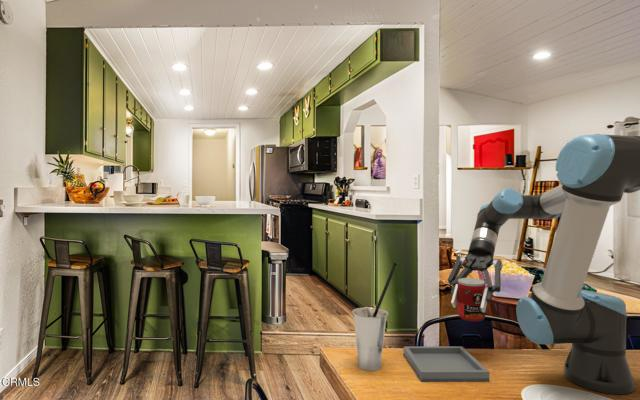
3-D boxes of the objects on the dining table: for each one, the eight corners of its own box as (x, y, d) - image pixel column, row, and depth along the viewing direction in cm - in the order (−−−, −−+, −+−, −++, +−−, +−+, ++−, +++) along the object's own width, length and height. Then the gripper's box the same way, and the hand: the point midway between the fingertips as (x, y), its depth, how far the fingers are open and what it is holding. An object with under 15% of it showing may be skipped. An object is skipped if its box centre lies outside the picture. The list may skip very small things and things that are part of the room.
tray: (461, 354, 122) (461, 346, 122) (489, 381, 104) (489, 371, 104) (403, 354, 121) (403, 346, 121) (421, 381, 103) (421, 372, 103)
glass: (395, 375, 107) (397, 263, 107) (353, 375, 107) (355, 263, 107) (388, 359, 118) (389, 257, 118) (350, 358, 117) (351, 257, 117)
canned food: (465, 322, 115) (465, 284, 115) (453, 313, 123) (453, 278, 123) (490, 321, 116) (490, 283, 115) (477, 312, 124) (477, 277, 123)
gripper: (519, 255, 125) (507, 320, 113) (453, 249, 137) (436, 308, 125) (515, 240, 120) (503, 306, 108) (448, 236, 133) (430, 295, 120)
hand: (467, 307), depth 116 cm, fingers closed on canned food, 8 cm apart
